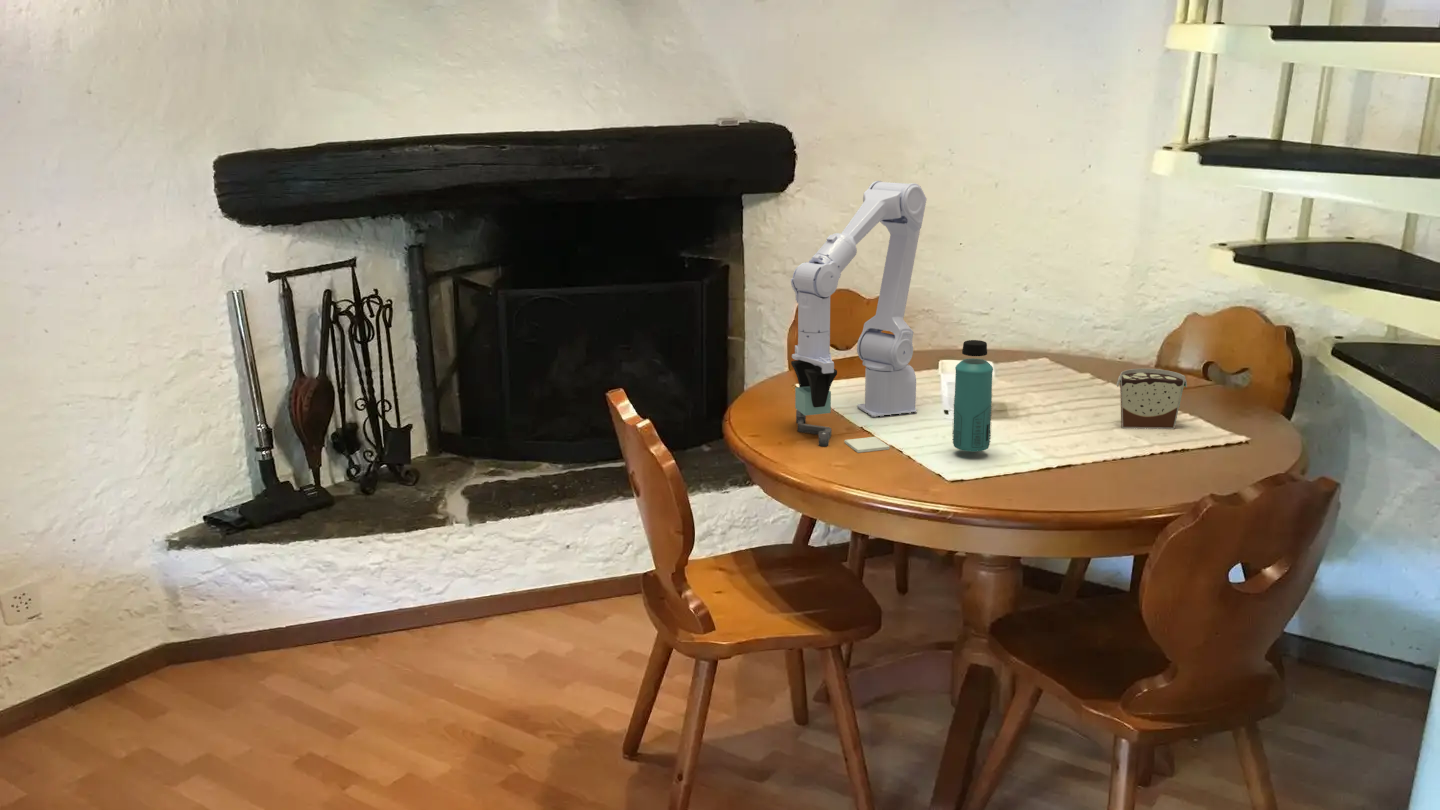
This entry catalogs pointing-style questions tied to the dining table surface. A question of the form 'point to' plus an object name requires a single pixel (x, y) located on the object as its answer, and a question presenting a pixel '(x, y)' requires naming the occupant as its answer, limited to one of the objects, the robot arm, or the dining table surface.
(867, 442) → the coaster
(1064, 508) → the dining table surface
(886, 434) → the dining table surface
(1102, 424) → the dining table surface
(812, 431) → the grey zigzag bar
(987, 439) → the beverage bottle
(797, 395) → the hollow square tube
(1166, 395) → the food container
